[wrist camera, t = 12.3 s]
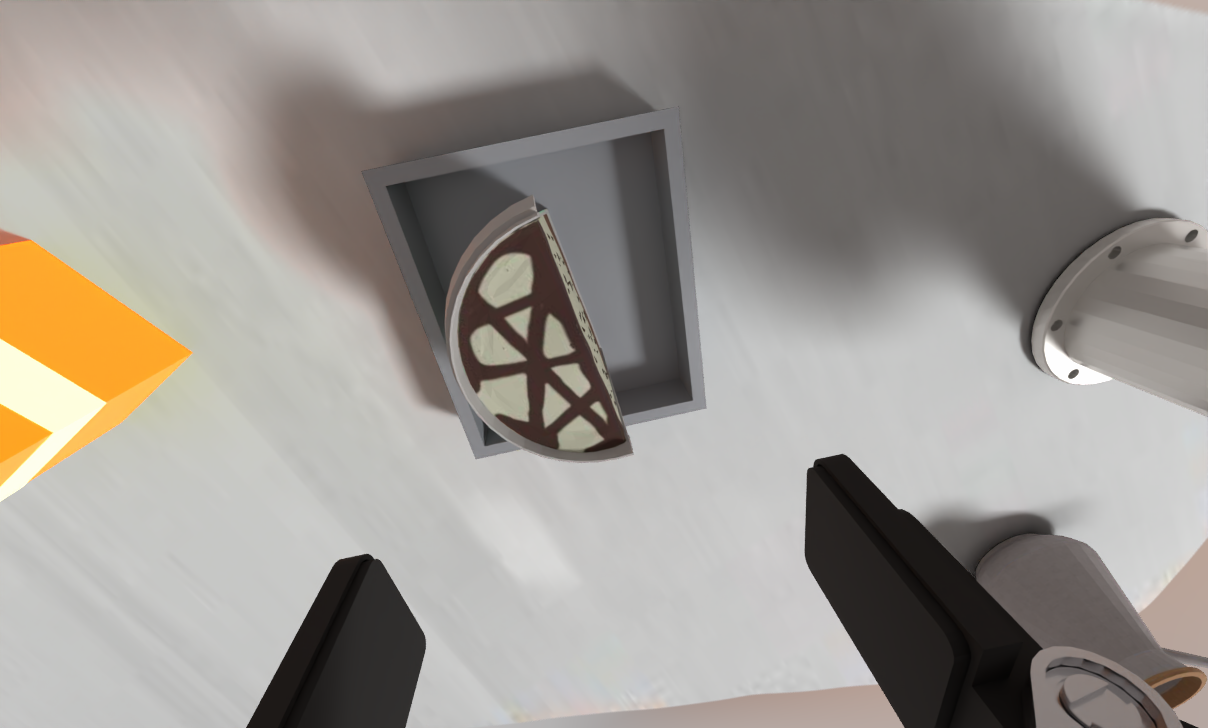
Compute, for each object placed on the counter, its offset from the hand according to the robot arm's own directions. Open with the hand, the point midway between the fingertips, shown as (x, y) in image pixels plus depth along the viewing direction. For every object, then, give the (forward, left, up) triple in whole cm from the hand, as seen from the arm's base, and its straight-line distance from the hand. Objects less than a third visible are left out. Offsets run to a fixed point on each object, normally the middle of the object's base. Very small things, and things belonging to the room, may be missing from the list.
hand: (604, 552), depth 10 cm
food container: (+2, 0, -20) cm, 20 cm away
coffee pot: (-44, +39, -21) cm, 62 cm away
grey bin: (0, 0, -21) cm, 21 cm away
